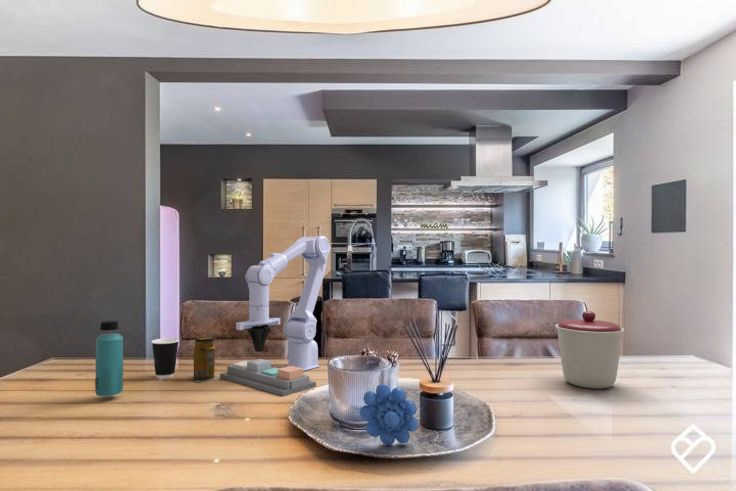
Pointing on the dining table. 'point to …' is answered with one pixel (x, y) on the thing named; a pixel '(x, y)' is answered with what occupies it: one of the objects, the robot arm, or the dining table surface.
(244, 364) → the cream key
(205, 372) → the condiment
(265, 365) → the slate key
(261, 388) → the keypad
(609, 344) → the canister
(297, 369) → the terracotta key
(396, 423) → the blue flower
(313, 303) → the robot arm
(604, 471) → the dining table surface
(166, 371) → the dixie cup
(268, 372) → the teal key
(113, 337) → the beverage bottle
